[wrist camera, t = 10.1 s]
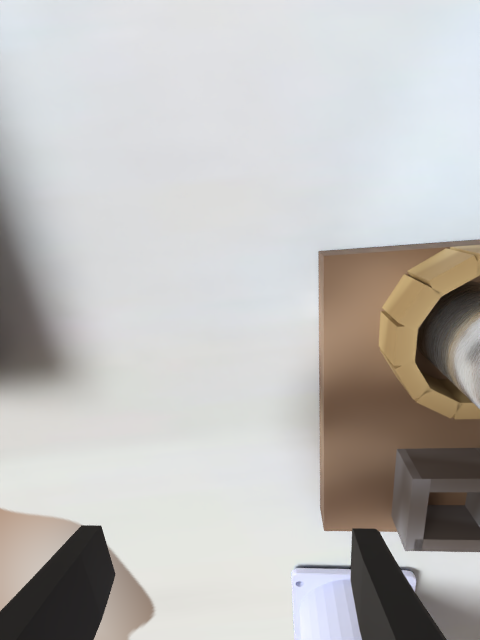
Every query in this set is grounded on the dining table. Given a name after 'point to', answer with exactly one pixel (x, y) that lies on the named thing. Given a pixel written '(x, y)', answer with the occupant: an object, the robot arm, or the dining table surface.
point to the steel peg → (455, 338)
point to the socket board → (395, 399)
